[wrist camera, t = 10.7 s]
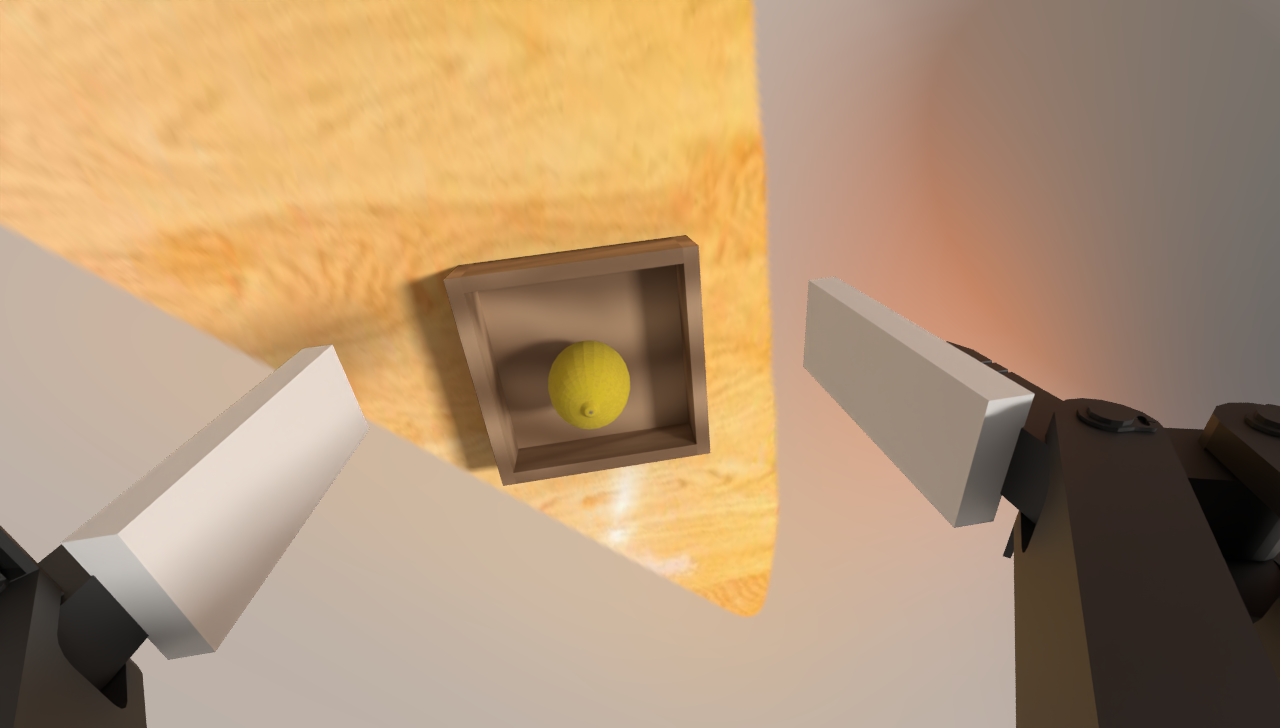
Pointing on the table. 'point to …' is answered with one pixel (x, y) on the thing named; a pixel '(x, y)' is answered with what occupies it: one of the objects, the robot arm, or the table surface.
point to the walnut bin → (584, 311)
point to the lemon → (589, 384)
